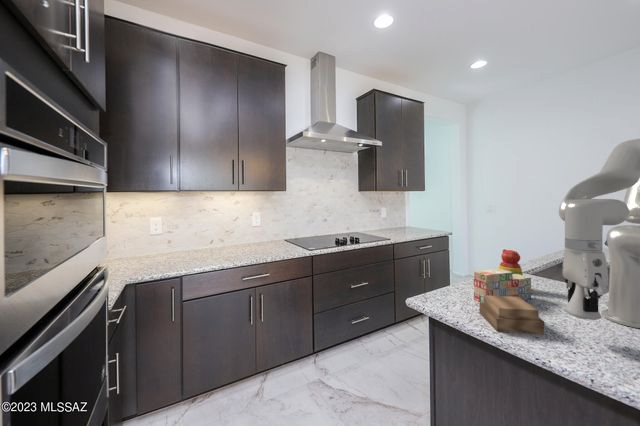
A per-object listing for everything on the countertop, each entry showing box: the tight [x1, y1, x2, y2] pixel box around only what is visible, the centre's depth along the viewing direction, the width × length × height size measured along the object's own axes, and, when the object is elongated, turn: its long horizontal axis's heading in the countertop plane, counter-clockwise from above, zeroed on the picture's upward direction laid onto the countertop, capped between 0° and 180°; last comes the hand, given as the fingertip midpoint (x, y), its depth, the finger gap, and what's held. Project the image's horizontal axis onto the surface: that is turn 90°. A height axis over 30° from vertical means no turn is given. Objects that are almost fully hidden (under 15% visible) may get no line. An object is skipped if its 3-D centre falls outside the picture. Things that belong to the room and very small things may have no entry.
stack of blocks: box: [473, 268, 532, 303], centre depth 105 cm, size 21×6×12 cm, turn 101°
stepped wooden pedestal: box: [478, 295, 545, 335], centre depth 86 cm, size 13×13×7 cm
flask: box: [564, 284, 603, 321], centre depth 75 cm, size 7×7×10 cm
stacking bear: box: [497, 249, 524, 276], centre depth 117 cm, size 11×10×18 cm
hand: (582, 306), depth 75 cm, fingers closed on flask, 4 cm apart
